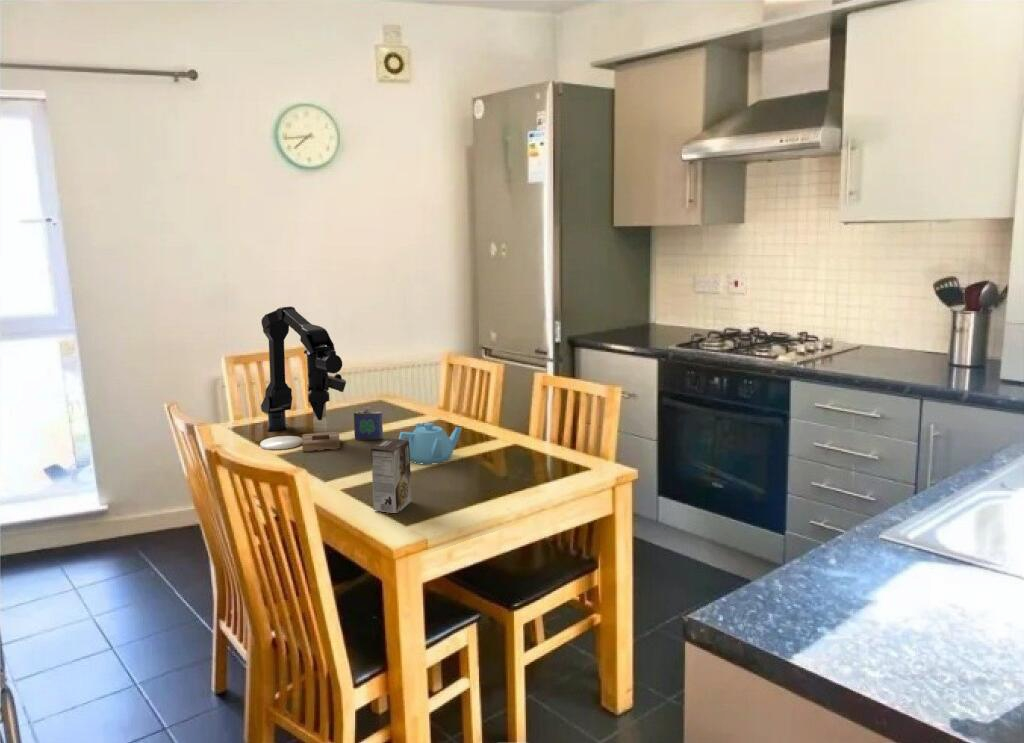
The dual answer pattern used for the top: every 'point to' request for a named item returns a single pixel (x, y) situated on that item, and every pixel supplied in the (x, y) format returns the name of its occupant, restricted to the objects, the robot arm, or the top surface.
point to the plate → (281, 442)
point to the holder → (320, 441)
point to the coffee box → (391, 475)
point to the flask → (368, 425)
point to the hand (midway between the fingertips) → (319, 418)
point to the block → (320, 421)
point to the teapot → (430, 443)
